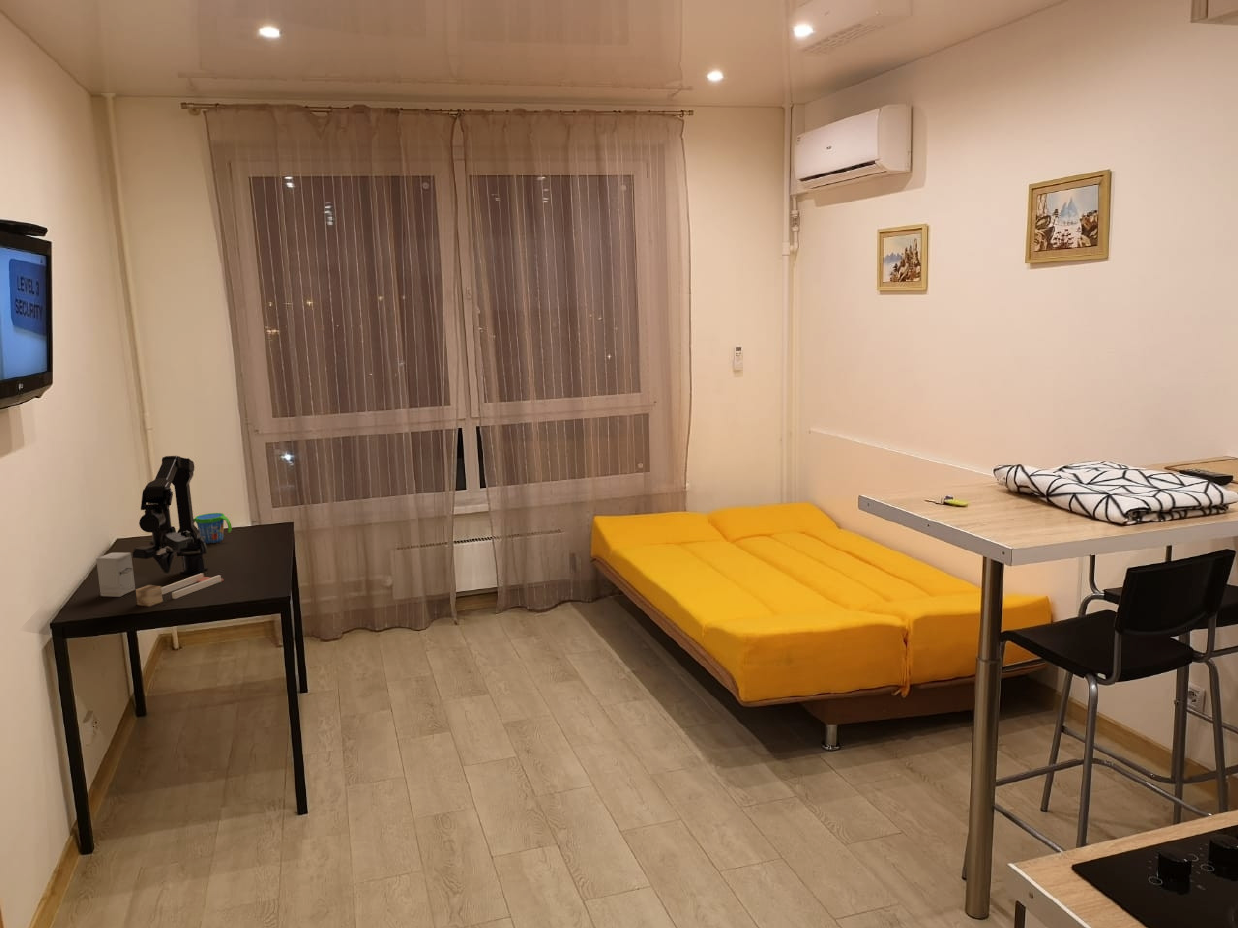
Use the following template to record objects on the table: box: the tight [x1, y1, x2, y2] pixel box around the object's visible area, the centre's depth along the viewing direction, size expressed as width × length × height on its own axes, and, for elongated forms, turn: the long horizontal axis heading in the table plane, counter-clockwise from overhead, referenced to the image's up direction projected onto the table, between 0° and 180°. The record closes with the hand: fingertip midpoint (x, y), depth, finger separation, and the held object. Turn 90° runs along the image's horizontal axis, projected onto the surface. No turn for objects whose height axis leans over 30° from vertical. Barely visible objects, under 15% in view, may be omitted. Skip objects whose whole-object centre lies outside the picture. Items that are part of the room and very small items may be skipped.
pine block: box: [135, 584, 164, 607], centre depth 292 cm, size 5×5×5 cm
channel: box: [161, 572, 225, 600], centre depth 306 cm, size 9×20×2 cm, turn 158°
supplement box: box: [95, 552, 136, 598], centre depth 303 cm, size 7×7×13 cm
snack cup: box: [193, 512, 233, 544], centre depth 365 cm, size 16×10×10 cm
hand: (166, 572), depth 298 cm, fingers closed
